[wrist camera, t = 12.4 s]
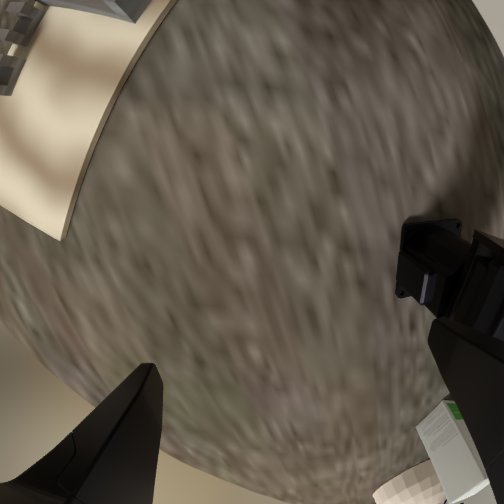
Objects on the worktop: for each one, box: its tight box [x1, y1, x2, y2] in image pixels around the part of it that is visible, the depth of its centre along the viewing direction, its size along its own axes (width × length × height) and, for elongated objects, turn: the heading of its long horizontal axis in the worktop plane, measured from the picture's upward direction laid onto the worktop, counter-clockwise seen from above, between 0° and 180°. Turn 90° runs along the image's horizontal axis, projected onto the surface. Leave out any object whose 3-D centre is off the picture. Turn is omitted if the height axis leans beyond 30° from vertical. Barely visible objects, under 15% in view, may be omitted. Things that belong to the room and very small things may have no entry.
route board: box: [0, 0, 177, 241], centre depth 12 cm, size 26×12×5 cm, turn 151°
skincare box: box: [416, 400, 490, 504], centre depth 26 cm, size 8×7×16 cm
